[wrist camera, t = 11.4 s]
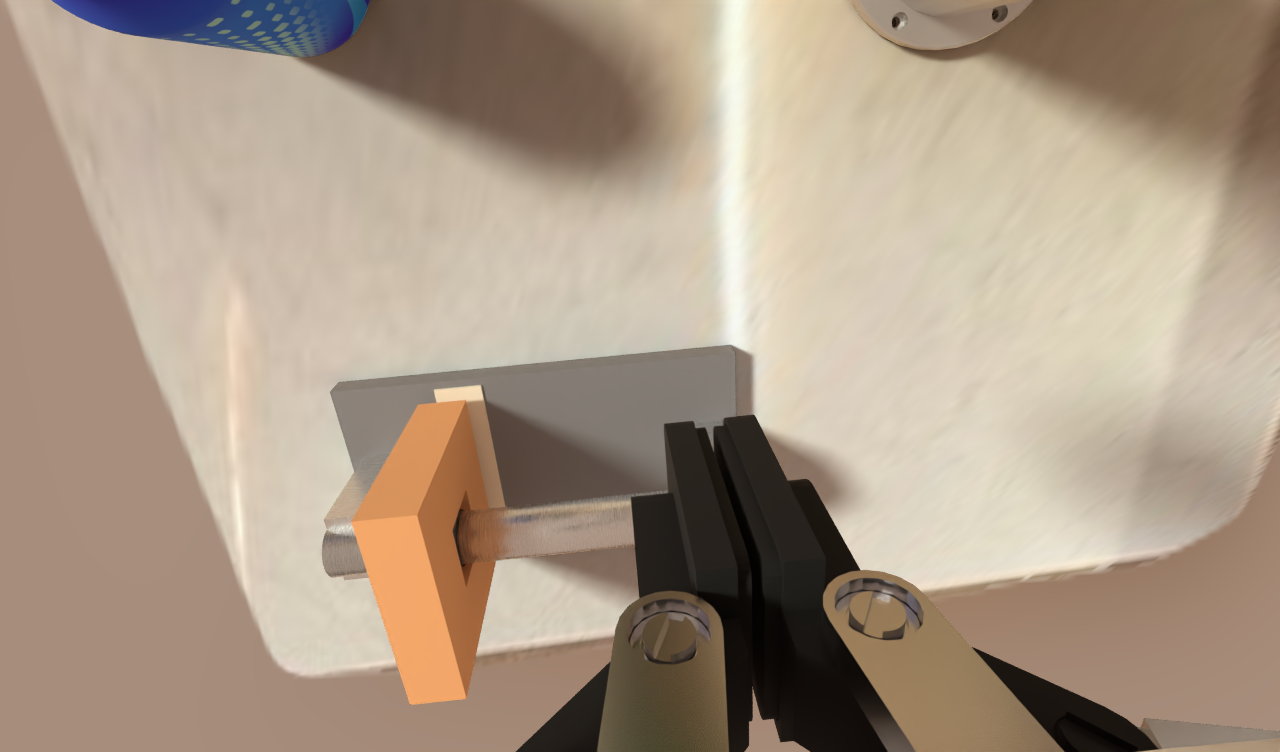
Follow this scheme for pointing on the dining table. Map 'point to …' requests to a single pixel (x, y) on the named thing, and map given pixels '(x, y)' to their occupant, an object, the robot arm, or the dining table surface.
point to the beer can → (232, 22)
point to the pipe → (493, 525)
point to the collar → (427, 552)
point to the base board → (555, 419)
